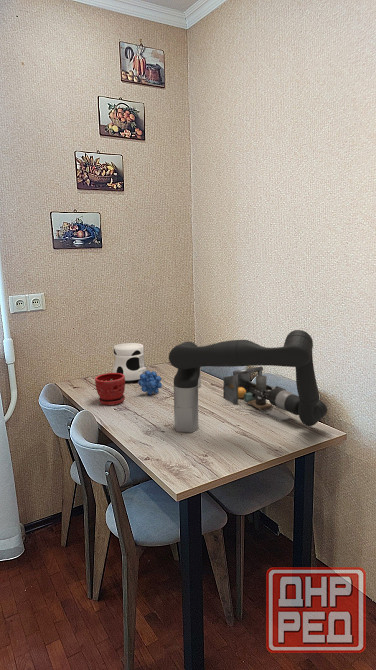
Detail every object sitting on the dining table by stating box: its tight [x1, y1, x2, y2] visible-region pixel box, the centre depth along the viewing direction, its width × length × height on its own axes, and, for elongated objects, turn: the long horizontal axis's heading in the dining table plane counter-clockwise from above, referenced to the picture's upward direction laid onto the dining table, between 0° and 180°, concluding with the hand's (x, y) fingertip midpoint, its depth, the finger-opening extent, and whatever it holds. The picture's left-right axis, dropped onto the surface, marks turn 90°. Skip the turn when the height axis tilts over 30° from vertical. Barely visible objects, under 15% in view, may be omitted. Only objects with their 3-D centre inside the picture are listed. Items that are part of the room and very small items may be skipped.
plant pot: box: [94, 372, 126, 406], centre depth 202 cm, size 13×13×12 cm
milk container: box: [112, 342, 147, 383], centre depth 236 cm, size 17×17×18 cm
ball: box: [238, 387, 246, 399], centre depth 206 cm, size 5×5×5 cm
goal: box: [222, 366, 264, 405], centre depth 204 cm, size 10×15×15 cm, turn 119°
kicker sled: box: [243, 374, 273, 410], centre depth 194 cm, size 12×6×13 cm, turn 29°
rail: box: [259, 407, 292, 422], centre depth 186 cm, size 14×5×1 cm, turn 29°
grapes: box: [137, 369, 163, 396], centre depth 211 cm, size 12×7×12 cm, turn 116°
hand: (258, 388), depth 194 cm, fingers open, 7 cm apart
